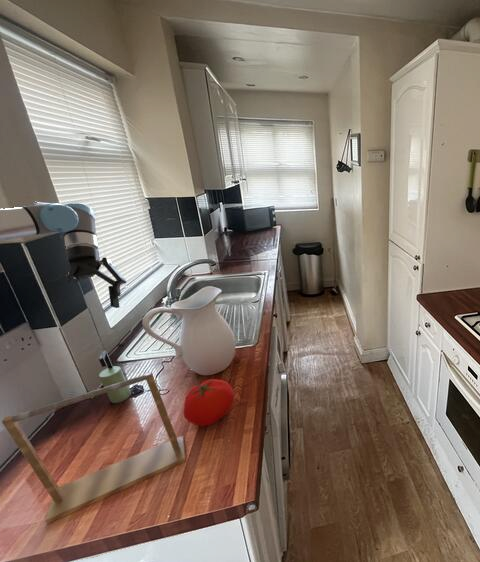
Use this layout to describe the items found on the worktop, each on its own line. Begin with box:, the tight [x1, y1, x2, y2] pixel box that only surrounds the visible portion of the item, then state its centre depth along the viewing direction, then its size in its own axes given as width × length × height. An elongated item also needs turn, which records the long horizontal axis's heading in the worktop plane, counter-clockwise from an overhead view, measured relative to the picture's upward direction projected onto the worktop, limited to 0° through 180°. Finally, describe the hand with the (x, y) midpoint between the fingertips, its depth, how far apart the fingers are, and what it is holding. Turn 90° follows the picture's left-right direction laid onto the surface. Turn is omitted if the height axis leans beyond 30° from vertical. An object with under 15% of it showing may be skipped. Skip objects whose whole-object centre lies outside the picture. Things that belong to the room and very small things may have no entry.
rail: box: [1, 371, 187, 525], centre depth 68 cm, size 25×8×25 cm, turn 123°
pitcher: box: [142, 285, 236, 376], centre depth 103 cm, size 24×17×28 cm
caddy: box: [98, 349, 132, 404], centre depth 94 cm, size 5×5×16 cm
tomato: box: [183, 378, 235, 427], centre depth 86 cm, size 13×12×11 cm
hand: (89, 313), depth 92 cm, fingers open, 13 cm apart
